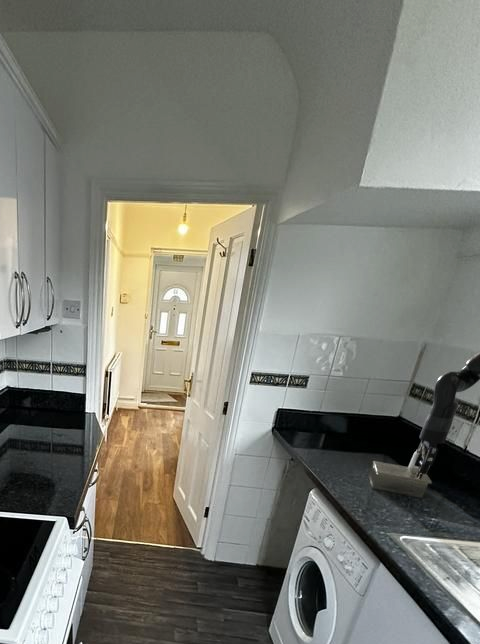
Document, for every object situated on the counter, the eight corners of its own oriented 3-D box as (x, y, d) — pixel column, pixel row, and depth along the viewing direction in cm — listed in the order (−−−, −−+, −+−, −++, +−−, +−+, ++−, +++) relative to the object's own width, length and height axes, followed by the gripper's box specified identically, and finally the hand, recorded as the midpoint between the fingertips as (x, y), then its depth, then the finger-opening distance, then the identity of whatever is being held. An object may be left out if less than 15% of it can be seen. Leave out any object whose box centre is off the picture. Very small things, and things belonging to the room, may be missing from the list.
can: (407, 474, 174) (418, 447, 169) (425, 479, 169) (437, 452, 164) (402, 477, 170) (413, 450, 165) (420, 483, 166) (432, 455, 160)
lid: (422, 471, 161) (428, 458, 158) (431, 484, 149) (437, 469, 147) (372, 462, 167) (377, 449, 165) (376, 474, 156) (381, 460, 153)
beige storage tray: (414, 485, 163) (420, 471, 161) (422, 498, 152) (428, 483, 149) (368, 476, 170) (372, 462, 167) (371, 488, 158) (376, 474, 156)
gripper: (454, 434, 141) (436, 478, 148) (443, 425, 153) (427, 466, 159) (428, 431, 144) (411, 473, 151) (419, 422, 156) (404, 462, 162)
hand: (419, 469), depth 155 cm, fingers open, 8 cm apart
